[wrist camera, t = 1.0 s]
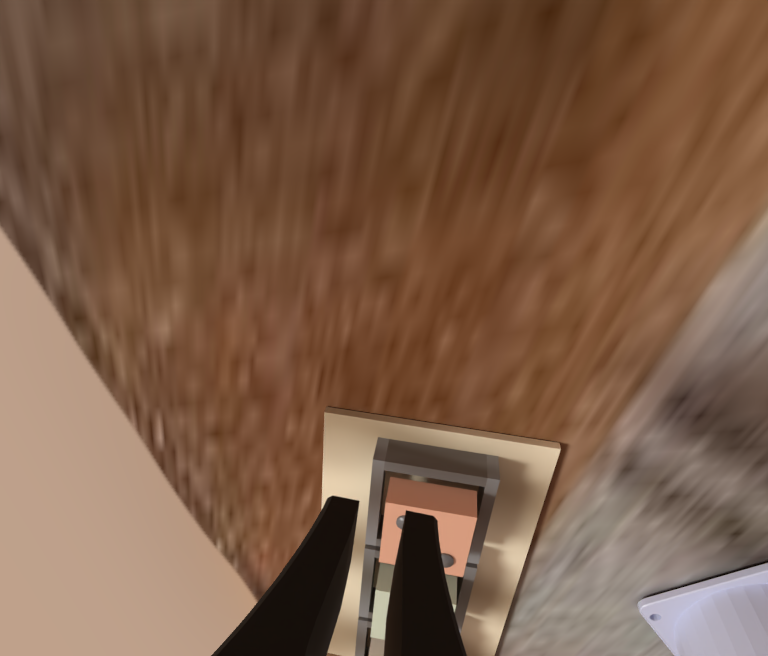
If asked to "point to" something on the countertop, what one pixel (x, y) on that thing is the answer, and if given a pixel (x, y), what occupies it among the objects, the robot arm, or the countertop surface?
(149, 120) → the countertop surface
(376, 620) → the key two
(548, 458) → the key board
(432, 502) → the key three
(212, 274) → the countertop surface
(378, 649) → the key one
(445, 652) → the robot arm
